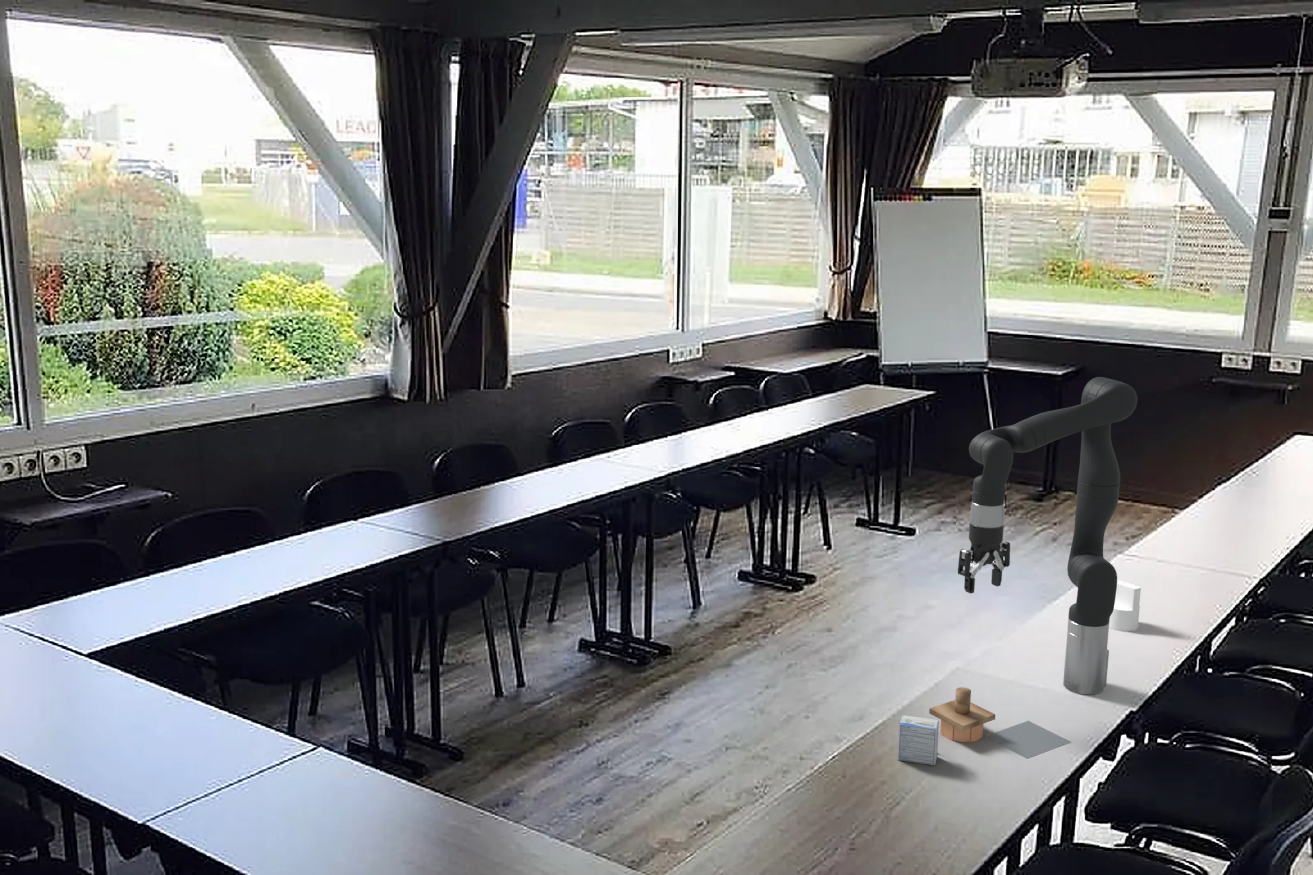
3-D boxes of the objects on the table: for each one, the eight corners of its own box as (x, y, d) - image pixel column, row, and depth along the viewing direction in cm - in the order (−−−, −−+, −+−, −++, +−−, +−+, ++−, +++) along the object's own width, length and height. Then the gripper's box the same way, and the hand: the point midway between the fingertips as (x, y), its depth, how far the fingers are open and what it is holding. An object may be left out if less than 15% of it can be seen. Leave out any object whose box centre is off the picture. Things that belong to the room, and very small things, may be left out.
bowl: (960, 722, 270) (961, 704, 269) (990, 738, 263) (992, 719, 262) (931, 732, 266) (932, 713, 265) (961, 748, 258) (962, 729, 257)
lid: (961, 702, 270) (962, 677, 269) (995, 719, 262) (996, 693, 260) (929, 713, 265) (930, 687, 263) (962, 731, 257) (964, 704, 255)
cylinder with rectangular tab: (1144, 626, 325) (1148, 585, 322) (1124, 634, 320) (1128, 591, 317) (1115, 616, 332) (1119, 575, 330) (1095, 623, 327) (1099, 582, 325)
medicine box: (937, 756, 254) (939, 719, 252) (935, 766, 250) (937, 728, 248) (900, 751, 257) (901, 714, 255) (897, 760, 253) (899, 723, 251)
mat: (1028, 722, 270) (1028, 720, 270) (1071, 744, 260) (1071, 741, 260) (984, 738, 262) (984, 736, 262) (1026, 760, 253) (1027, 758, 252)
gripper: (996, 512, 277) (992, 578, 281) (951, 522, 270) (948, 589, 273) (1021, 520, 271) (1016, 588, 274) (976, 530, 264) (972, 599, 267)
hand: (982, 588), depth 274 cm, fingers open, 8 cm apart
